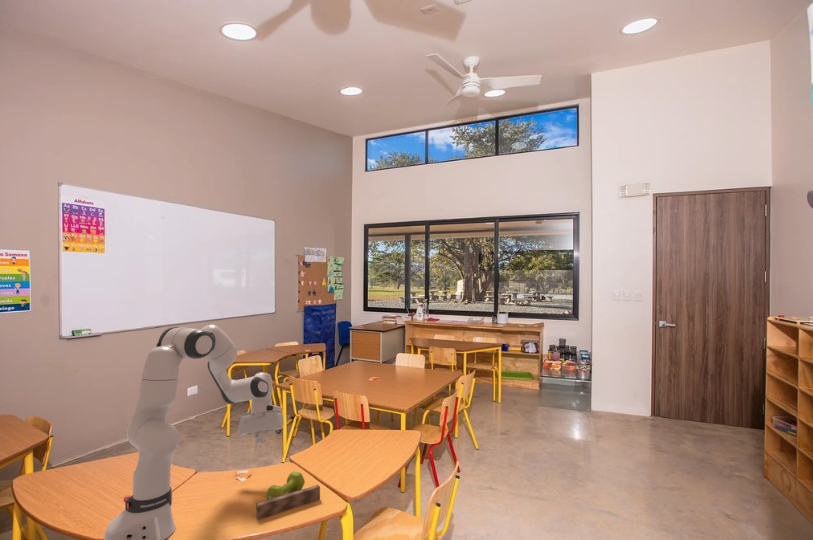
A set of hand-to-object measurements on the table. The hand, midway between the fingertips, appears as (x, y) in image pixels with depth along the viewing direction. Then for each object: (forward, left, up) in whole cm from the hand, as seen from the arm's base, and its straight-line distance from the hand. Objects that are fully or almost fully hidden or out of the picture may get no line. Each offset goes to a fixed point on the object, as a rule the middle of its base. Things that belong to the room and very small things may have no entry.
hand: (260, 443), depth 178 cm
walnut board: (+3, -28, -17) cm, 33 cm away
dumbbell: (+5, -19, -17) cm, 26 cm away
